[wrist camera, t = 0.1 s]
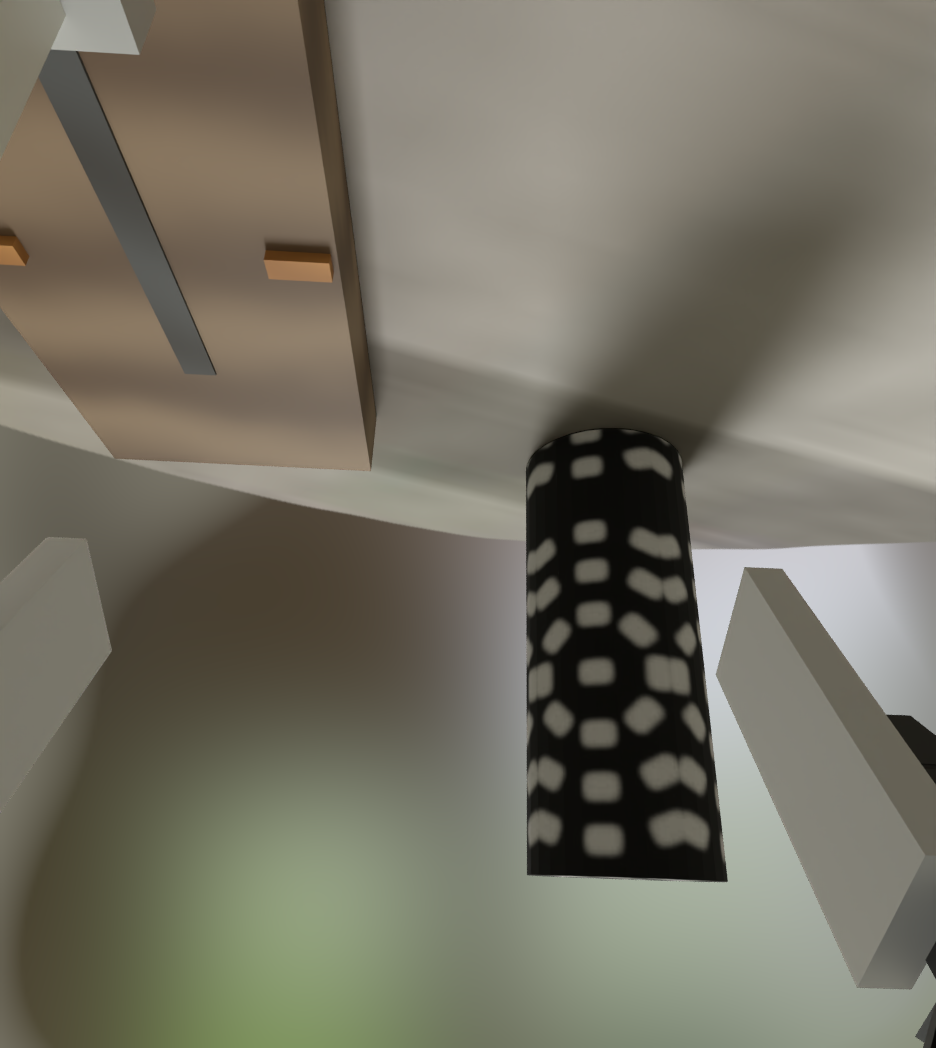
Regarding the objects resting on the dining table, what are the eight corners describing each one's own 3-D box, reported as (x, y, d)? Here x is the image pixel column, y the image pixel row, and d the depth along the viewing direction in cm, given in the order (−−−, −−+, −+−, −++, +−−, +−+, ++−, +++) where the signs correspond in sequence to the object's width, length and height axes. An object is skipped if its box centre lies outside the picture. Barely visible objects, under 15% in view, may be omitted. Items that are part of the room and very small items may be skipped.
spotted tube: (670, 415, 35) (719, 880, 26) (689, 494, 42) (733, 882, 33) (505, 444, 38) (500, 873, 29) (548, 513, 45) (555, 877, 36)
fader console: (-461, -487, 12) (-595, -420, 11) (269, -432, 13) (235, -358, 11) (123, 405, 36) (106, 465, 34) (376, 418, 36) (369, 478, 35)
